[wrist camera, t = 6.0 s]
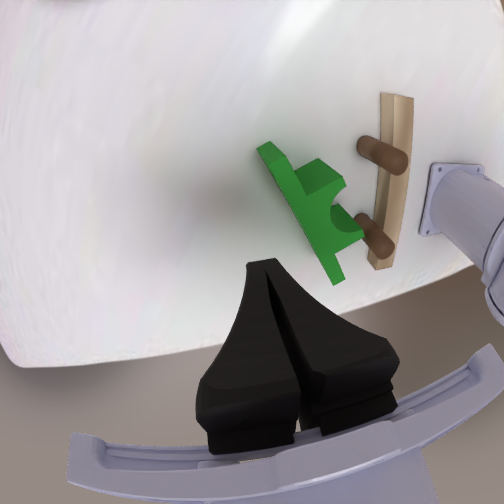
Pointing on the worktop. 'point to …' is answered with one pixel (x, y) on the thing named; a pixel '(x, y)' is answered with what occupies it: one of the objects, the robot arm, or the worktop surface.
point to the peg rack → (388, 178)
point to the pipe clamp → (315, 206)
